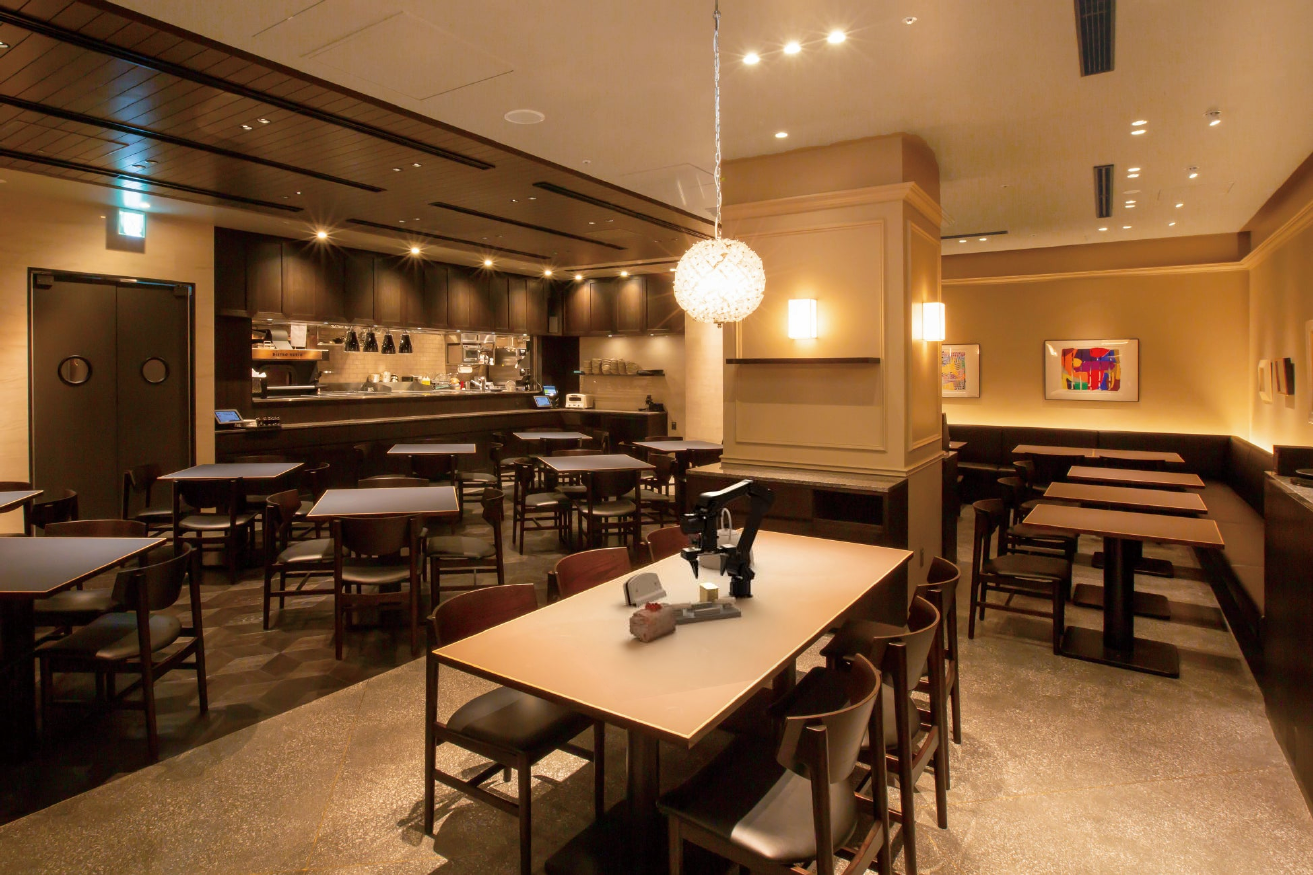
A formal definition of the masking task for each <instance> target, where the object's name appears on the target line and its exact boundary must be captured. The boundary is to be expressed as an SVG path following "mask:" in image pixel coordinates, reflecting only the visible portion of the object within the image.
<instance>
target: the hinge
mask: <svg viewBox="0 0 1313 875" xmlns="http://www.w3.org/2000/svg"><path fill="white" fill-rule="evenodd" d="M622 588H623V589H622V590H623V594H624V600H625V605H626V604H628V605H633V604H635V606H636V607H637V606H640V607H642V606H644V605H643V604H645V605H646V602H647V601H648V602H650V603H653V602H655V601H658V600H659V598H660V599H662V598H665V597H667V596H668V595H667V592H666V590H665V589H664V588H663V586H662V584H661V581H660V579H659V575H658V573H655V572H642V573H638V574H634V575H633V576H631V577H630V578H628V579H627V580H625V582H624V583H623V585H622ZM664 596H665V597H664ZM654 600H655V601H654ZM628 605H627V606H628ZM641 605H642V606H641Z"/></svg>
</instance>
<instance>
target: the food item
mask: <svg viewBox="0 0 1313 875" xmlns="http://www.w3.org/2000/svg"><path fill="white" fill-rule="evenodd" d="M628 621H629V633H630V634H631V635H632V636H633V637H636V639H639V640H640V639H641V640H640V641H642V640H643V642H645V643H649V642H651V641H653V640H655V639H657V638H661V637H663V636H666V635H668V634H670V633H674V632H676V630H677V628H676V626H677V624H676V621H675V610H674V607H673V606H671V605H670V603H668V602H661V603H658V602H650V603H649V602H648V601H647V602H646V604H645V605H644V608H641V609H639V610H636V611H635V612H633V613H632V616H631V617H629V619H628Z"/></svg>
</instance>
